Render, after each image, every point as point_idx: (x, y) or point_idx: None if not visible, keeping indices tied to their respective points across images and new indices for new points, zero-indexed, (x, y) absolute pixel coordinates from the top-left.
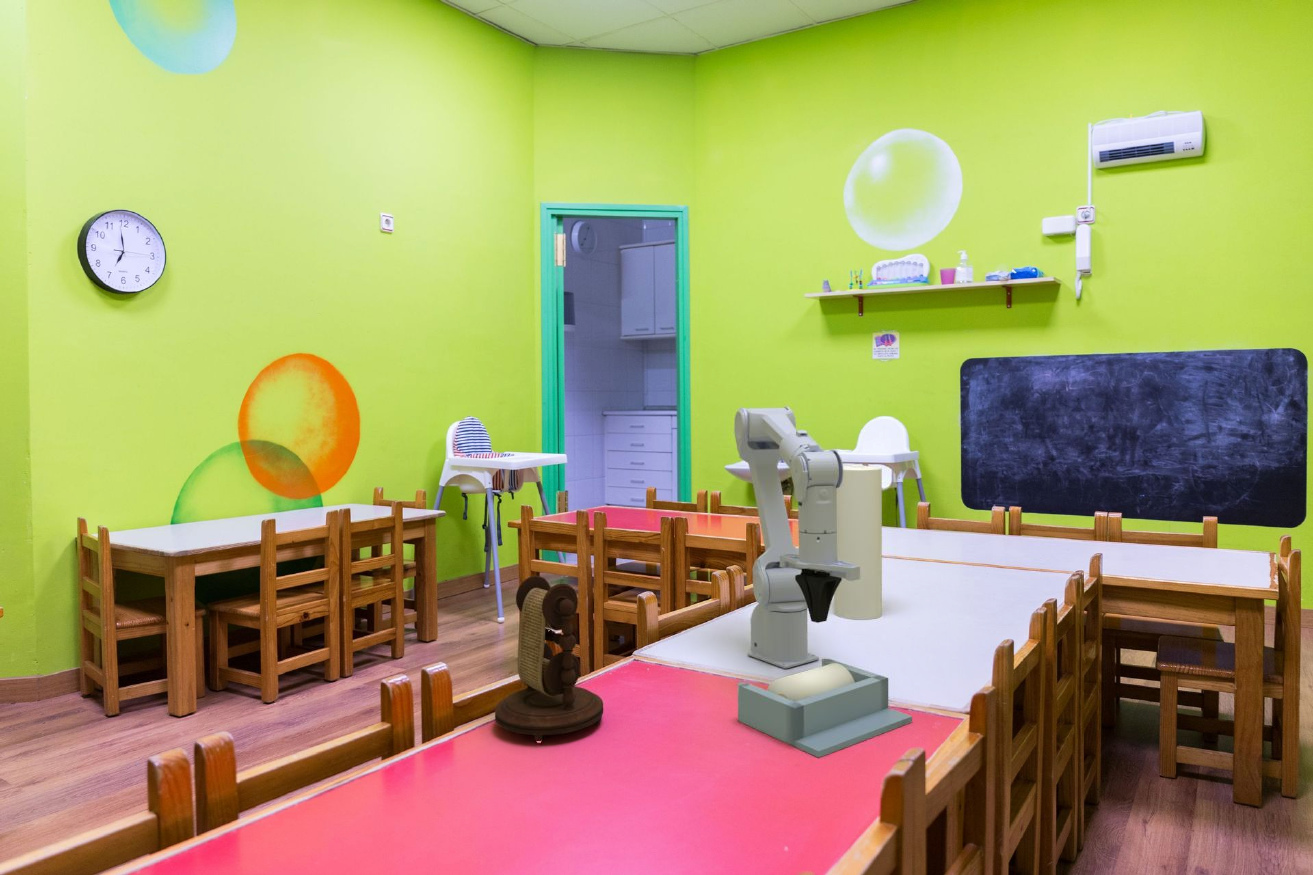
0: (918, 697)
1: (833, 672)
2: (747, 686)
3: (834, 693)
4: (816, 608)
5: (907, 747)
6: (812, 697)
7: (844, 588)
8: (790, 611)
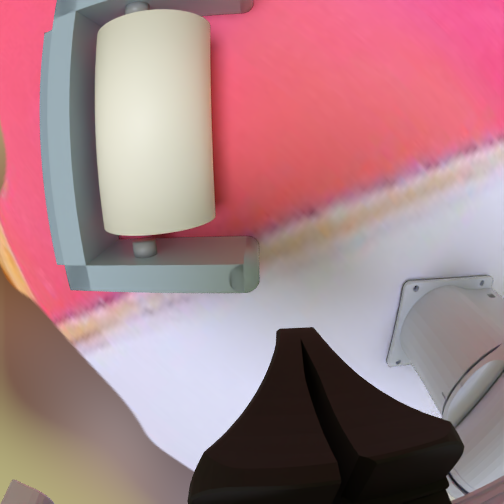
0: (139, 353)
1: (110, 181)
2: None
3: (53, 113)
4: (273, 358)
5: (9, 178)
6: (66, 55)
7: (449, 494)
8: (464, 376)
